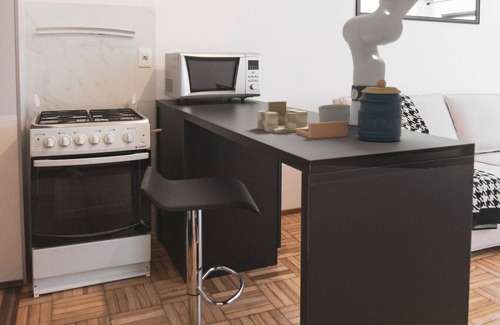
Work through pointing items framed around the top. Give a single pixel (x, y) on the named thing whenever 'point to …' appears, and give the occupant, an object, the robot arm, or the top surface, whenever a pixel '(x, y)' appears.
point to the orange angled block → (325, 129)
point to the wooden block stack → (281, 119)
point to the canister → (380, 114)
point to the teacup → (334, 113)
